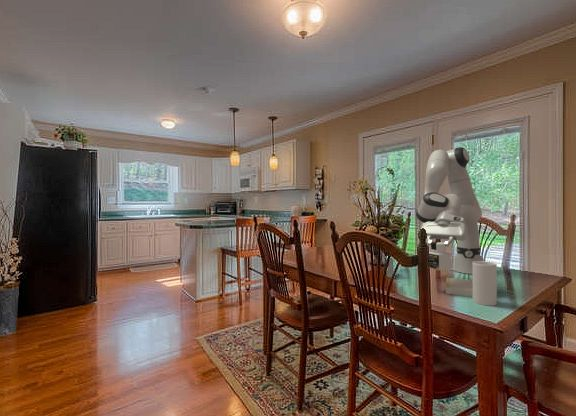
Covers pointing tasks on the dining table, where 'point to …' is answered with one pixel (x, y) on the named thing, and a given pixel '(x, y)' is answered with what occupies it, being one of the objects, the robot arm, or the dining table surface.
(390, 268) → the candy bar box
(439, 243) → the medicine bottle
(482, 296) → the cup
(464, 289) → the dock
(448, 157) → the robot arm
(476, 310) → the dining table surface
